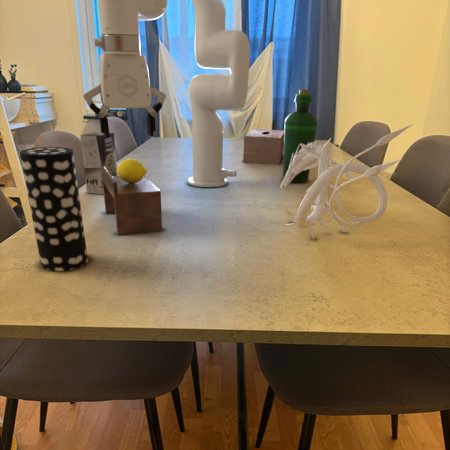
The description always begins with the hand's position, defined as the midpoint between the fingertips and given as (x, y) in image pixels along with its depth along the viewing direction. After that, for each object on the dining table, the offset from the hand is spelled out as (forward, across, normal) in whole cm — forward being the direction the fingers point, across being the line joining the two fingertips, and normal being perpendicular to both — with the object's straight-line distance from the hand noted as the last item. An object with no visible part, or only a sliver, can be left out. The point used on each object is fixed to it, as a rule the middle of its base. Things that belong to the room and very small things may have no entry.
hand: (129, 136), depth 95 cm
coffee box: (+20, -3, +32) cm, 37 cm away
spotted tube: (+19, -18, -22) cm, 34 cm away
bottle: (+20, +60, +26) cm, 69 cm away
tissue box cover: (+21, +70, +70) cm, 101 cm away
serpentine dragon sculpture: (+20, +40, -23) cm, 50 cm away
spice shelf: (+19, -1, 0) cm, 19 cm away
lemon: (+10, 0, 0) cm, 10 cm away
